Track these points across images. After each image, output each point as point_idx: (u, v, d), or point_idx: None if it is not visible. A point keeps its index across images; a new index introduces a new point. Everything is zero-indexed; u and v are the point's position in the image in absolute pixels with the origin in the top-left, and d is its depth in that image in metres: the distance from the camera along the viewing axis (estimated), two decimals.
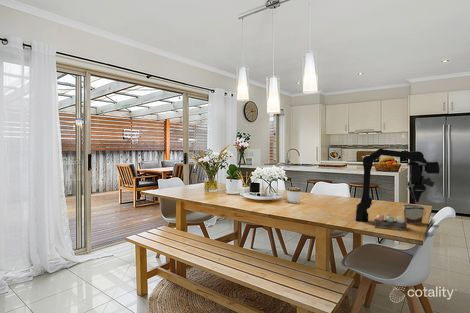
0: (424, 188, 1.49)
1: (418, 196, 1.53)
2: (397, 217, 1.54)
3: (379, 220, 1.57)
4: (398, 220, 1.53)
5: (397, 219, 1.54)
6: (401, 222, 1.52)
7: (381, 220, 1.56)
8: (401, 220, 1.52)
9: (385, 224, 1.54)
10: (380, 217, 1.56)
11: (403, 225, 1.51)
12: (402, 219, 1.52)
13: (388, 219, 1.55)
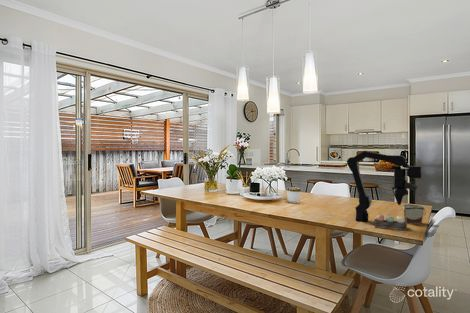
0: (406, 192, 1.49)
1: (400, 199, 1.57)
2: (397, 217, 1.54)
3: (379, 220, 1.57)
4: (398, 220, 1.53)
5: (397, 219, 1.54)
6: (401, 222, 1.52)
7: (381, 220, 1.56)
8: (401, 220, 1.52)
9: (385, 224, 1.54)
10: (380, 217, 1.56)
11: (403, 225, 1.51)
12: (402, 219, 1.52)
13: (388, 219, 1.55)
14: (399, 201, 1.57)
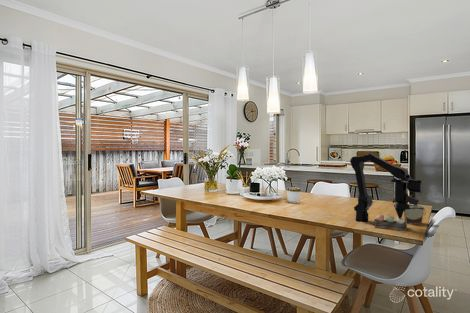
0: (408, 207, 1.45)
1: (401, 213, 1.53)
2: (397, 218, 1.54)
3: (379, 220, 1.57)
4: (398, 221, 1.53)
5: (397, 220, 1.54)
6: (401, 223, 1.52)
7: (381, 220, 1.56)
8: (401, 221, 1.52)
9: (385, 224, 1.54)
10: (380, 217, 1.56)
11: (403, 225, 1.51)
12: (402, 220, 1.52)
13: (388, 219, 1.55)
14: (400, 215, 1.53)
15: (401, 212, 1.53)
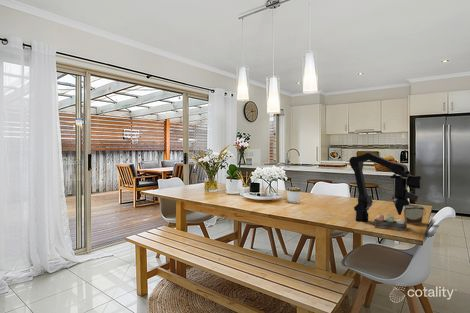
0: (407, 203, 1.45)
1: (400, 209, 1.53)
2: (397, 220, 1.54)
3: (379, 220, 1.57)
4: (398, 223, 1.53)
5: (397, 222, 1.54)
6: None
7: (381, 220, 1.56)
8: (401, 223, 1.52)
9: (385, 224, 1.54)
10: (380, 217, 1.56)
11: (403, 225, 1.51)
12: (402, 222, 1.52)
13: (388, 219, 1.55)
14: (399, 211, 1.53)
15: (401, 208, 1.53)
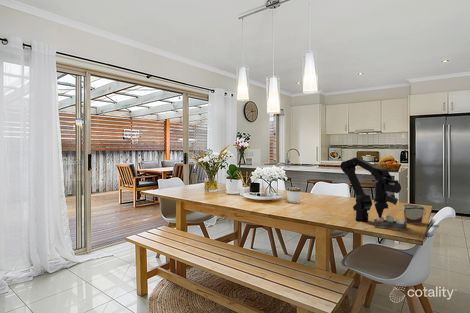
0: (386, 206, 1.49)
1: (381, 212, 1.57)
2: (397, 220, 1.54)
3: None
4: (398, 223, 1.53)
5: (397, 222, 1.54)
6: None
7: None
8: (401, 223, 1.52)
9: (385, 224, 1.54)
10: (380, 219, 1.56)
11: (403, 225, 1.51)
12: (402, 222, 1.52)
13: (388, 219, 1.55)
14: (380, 214, 1.57)
15: (381, 211, 1.57)
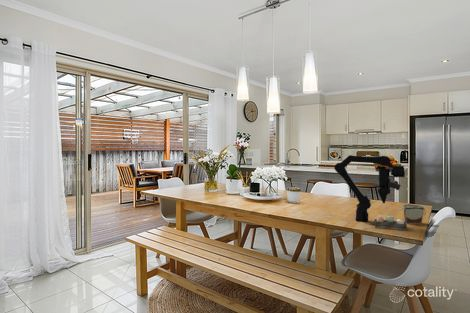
0: (388, 191, 1.56)
1: (384, 197, 1.64)
2: (397, 220, 1.54)
3: None
4: (398, 223, 1.53)
5: (397, 222, 1.54)
6: None
7: None
8: (401, 223, 1.52)
9: (385, 224, 1.54)
10: (380, 220, 1.57)
11: (403, 225, 1.51)
12: (402, 222, 1.52)
13: (388, 219, 1.55)
14: (383, 199, 1.64)
15: (384, 197, 1.64)
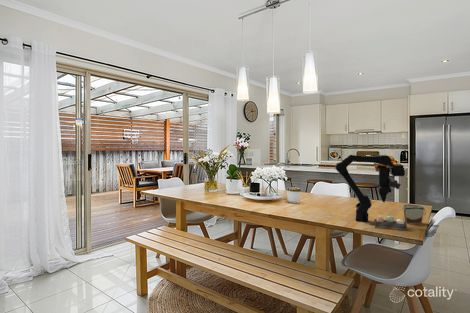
0: (390, 190, 1.57)
1: (384, 196, 1.65)
2: (397, 220, 1.54)
3: None
4: (398, 223, 1.53)
5: (397, 222, 1.54)
6: None
7: None
8: (401, 223, 1.52)
9: (385, 224, 1.54)
10: (380, 220, 1.57)
11: (403, 225, 1.51)
12: (402, 222, 1.52)
13: (388, 219, 1.55)
14: (383, 198, 1.66)
15: (384, 196, 1.65)
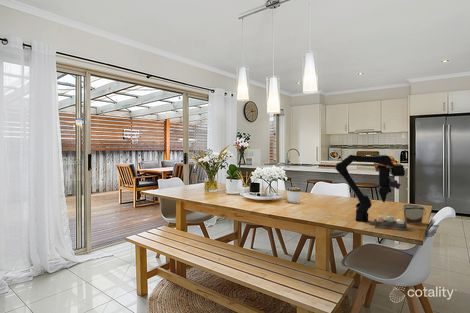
0: (390, 190, 1.57)
1: (384, 196, 1.65)
2: (397, 220, 1.54)
3: None
4: (398, 223, 1.53)
5: (397, 222, 1.54)
6: None
7: None
8: (401, 223, 1.52)
9: (385, 224, 1.54)
10: (380, 220, 1.57)
11: (403, 225, 1.51)
12: (402, 222, 1.52)
13: (388, 219, 1.55)
14: (383, 198, 1.66)
15: (384, 196, 1.65)
